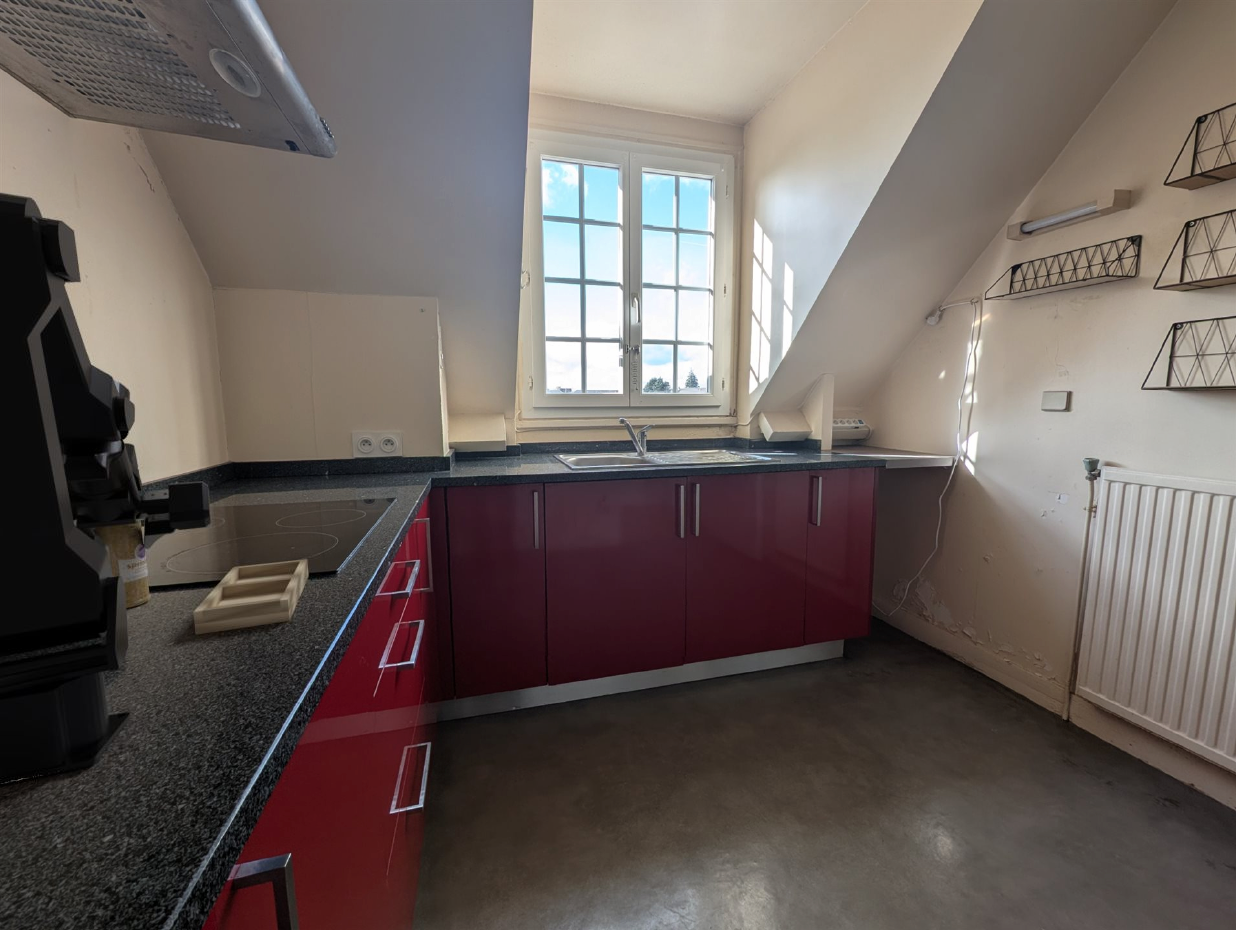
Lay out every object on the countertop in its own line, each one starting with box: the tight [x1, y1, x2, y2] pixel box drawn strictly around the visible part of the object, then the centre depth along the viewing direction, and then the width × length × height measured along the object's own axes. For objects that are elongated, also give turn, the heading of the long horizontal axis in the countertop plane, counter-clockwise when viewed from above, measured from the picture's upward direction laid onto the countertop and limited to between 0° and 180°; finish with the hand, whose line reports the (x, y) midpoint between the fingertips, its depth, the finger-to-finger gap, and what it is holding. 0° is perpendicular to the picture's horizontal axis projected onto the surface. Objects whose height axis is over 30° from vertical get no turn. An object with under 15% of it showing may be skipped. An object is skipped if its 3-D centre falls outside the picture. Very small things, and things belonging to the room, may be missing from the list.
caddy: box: [192, 558, 309, 635], centre depth 68 cm, size 17×9×3 cm, turn 25°
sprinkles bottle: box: [95, 520, 152, 609], centre depth 66 cm, size 5×5×13 cm
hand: (123, 548), depth 67 cm, fingers closed on sprinkles bottle, 4 cm apart
